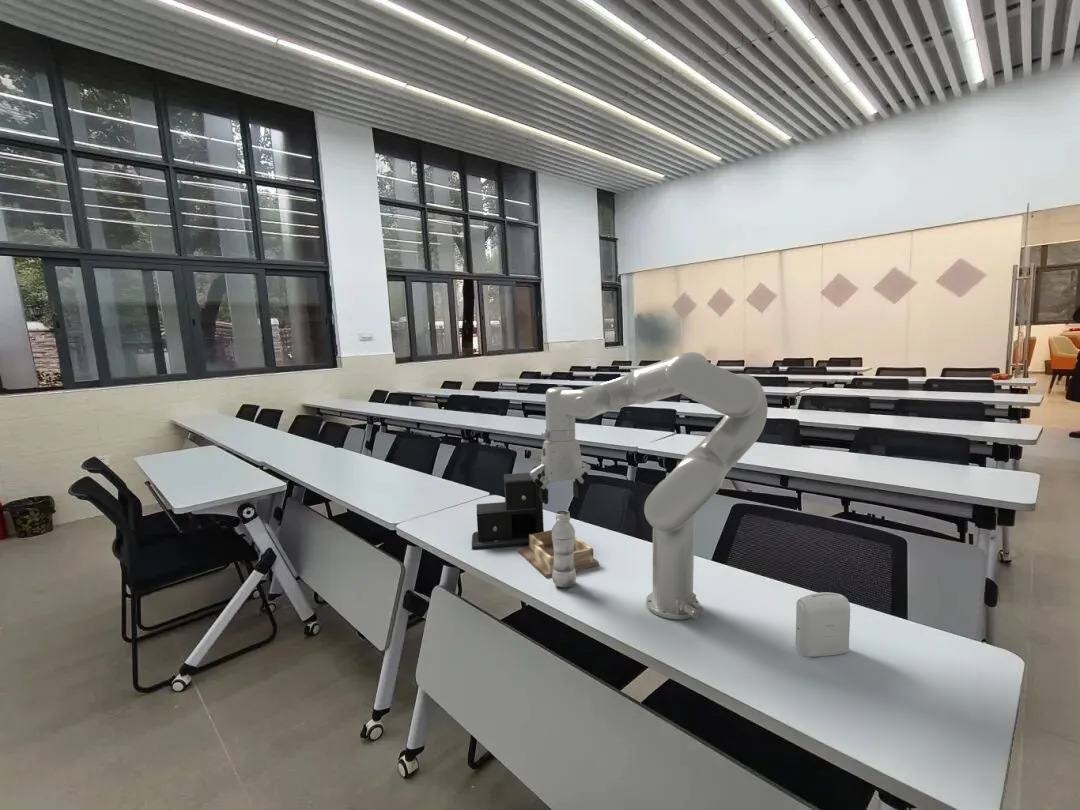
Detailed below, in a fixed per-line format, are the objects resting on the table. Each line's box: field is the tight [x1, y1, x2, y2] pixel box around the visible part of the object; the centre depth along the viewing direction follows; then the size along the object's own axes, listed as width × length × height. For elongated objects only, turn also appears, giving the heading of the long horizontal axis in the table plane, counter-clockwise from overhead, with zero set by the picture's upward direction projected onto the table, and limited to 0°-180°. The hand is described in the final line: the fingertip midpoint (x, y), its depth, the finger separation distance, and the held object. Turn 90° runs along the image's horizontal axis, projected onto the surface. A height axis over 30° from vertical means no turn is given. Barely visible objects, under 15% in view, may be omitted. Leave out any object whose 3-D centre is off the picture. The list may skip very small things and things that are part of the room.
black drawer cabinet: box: [471, 465, 545, 550], centre depth 164 cm, size 23×11×24 cm, turn 97°
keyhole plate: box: [517, 529, 600, 579], centre depth 151 cm, size 20×17×5 cm
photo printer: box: [794, 591, 851, 658], centre depth 102 cm, size 10×4×12 cm, turn 96°
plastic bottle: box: [551, 509, 577, 589], centre depth 133 cm, size 6×7×20 cm
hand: (561, 499), depth 132 cm, fingers open, 9 cm apart
